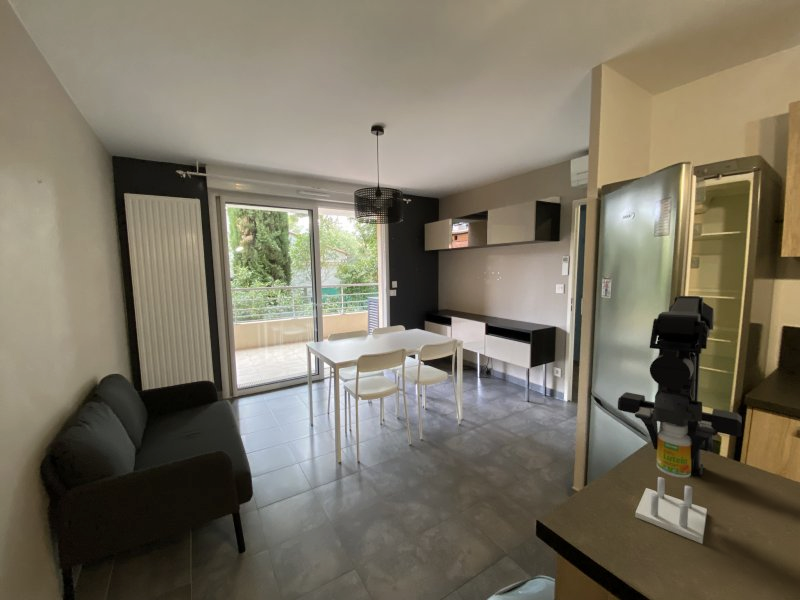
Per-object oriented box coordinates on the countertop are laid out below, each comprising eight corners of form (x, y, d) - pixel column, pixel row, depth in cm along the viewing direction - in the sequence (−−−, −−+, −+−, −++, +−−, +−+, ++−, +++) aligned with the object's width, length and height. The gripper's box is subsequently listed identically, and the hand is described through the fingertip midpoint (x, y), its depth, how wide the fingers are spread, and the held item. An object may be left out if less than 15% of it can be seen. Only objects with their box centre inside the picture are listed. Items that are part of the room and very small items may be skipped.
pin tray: (646, 492, 75) (646, 470, 75) (706, 513, 68) (707, 489, 68) (635, 516, 68) (635, 492, 67) (702, 543, 60) (703, 517, 60)
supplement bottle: (659, 474, 67) (661, 425, 67) (654, 461, 72) (655, 416, 71) (694, 481, 65) (696, 431, 64) (686, 467, 69) (688, 421, 69)
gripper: (611, 376, 68) (609, 451, 69) (743, 397, 55) (739, 491, 56) (624, 366, 76) (623, 434, 77) (743, 383, 63) (739, 465, 64)
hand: (673, 453), depth 68 cm, fingers closed on supplement bottle, 5 cm apart
